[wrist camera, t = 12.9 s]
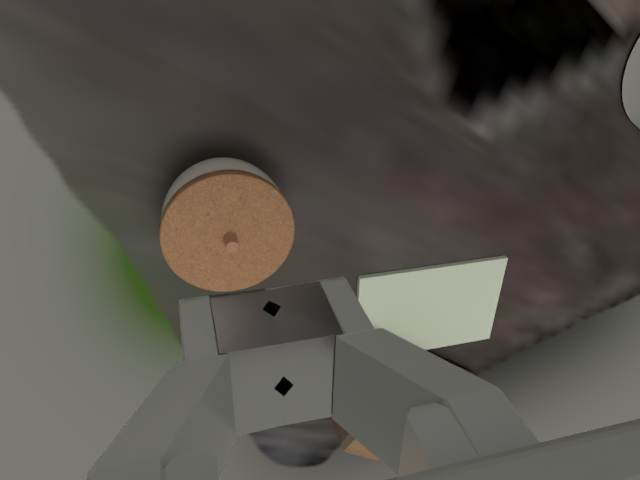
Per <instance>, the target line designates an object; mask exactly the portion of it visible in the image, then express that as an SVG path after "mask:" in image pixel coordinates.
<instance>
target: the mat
mask: <svg viewBox="0 0 640 480" xmlns="http://www.w3.org/2000/svg"><path fill="white" fill-rule="evenodd" d="M507 260H508V258H507V257H506V256H505V255H503V256H496V257H489V258H482V259H475V260H468V261H461V262H453V263H446V264H439V265H432V266H425V267H418V268H411V269H404V270H396V271H389V272H382V273H375V274H368V275H361V276H358V283H357V299H358V301H359V302H360V304H361V306H362V308H363V309H364V311H365V313H366V315H367V316H368V318H369V320H370V322H371V323H372V325H373V327H374V329H379V328H383V329H385V330H387V331H389V332H391V333H393V334H395V335H397V336H399V337H401V338H403V339H405V340H407V341H409V342H410V343H412V344H414V345H416V346H418V347H420V348H422V349H424V350H428V349H434V348H439V347H445V346H450V345H456V344H461V343H467V342H472V341H478V340H484V339H489V338H490V333H491V329H492V325H493V320H494V316H495V312H496V307H497V303H498V299H499V294H500V290H501V286H502V281H503V277H504V273H505V269H506V264H507Z"/></svg>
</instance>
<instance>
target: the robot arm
mask: <svg viewBox="0 0 640 480" xmlns="http://www.w3.org/2000/svg"><path fill="white" fill-rule="evenodd" d="M622 99H623V105H624V108H625V111H626V114H627V115H628V117H629V119H630V120H631V121H632V122H633V123H634V124H635V125H636V126H637V127H638V128H639V129H640V37H639V39H638V40H637V42H636V44H635V46H634V48H633V50H632V52H631V54H630V57H629V59H628V62H627V65H626V69H625V72H624V77H623V84H622ZM209 298H210V299H209ZM179 313H180V326H181V339H182V351H183V361H181V362H176V363H174V364H173V365H172V367H171V368H170V369H169V370H168V372H167V373H166V374H165V375H164V377H163V378H162V379H161V380H160V382H159V383H158V384H157V385H156V387H155V388H154V389H153V391H152V392H151V393H150V394H149V396H148V397H147V398H146V399H145V401H144V402H143V403H142V405H141V406H140V407H139V408H138V409H137V411H136V412H135V413H134V415H133V416H132V417H131V418H130V420H129V421H128V422H127V423H126V425H125V426H124V427H123V429H122V430H121V431H120V432H119V433H118V435H117V436H116V437H115V439H114V440H113V441H112V442H111V444H110V445H109V446H108V447H107V449H106V450H105V451H104V452H103V454H102V455H101V456H100V458H99V459H98V460H97V461H96V463H95V464H94V465H93V467H92V468H91V469H90V470H89V471H88V476H87V480H219V477H220V475H221V472H222V470H223V468H224V466H225V463H226V461H227V459H228V457H229V454H230V452H231V450H232V448H233V445H234V443H235V441H236V436H239V435H244V434H248V433H252V432H257V431H261V430H265V429H270V428H274V427H278V426H282V425H284V424H285V425H288V424H293V423H299V422H305V421H310V420H316V419H322V418H327V417H332V419H333V420H334V421H335V422H336V423H338V424H339V425H340V426H341V427H342V428H343V429H345V430H346V431H347V432H348V433H349V434H350V435H352V436H353V437H354V438H355V439H356V440H357V441H359V442H360V443H361V444H362V445H363V446H364V447H366V448H367V449H368V450H369V451H370V452H371V453H373V454H374V455H375V456H376V457H377V458H378V459H380V460H381V461H382V462H383V463H384V464H386V465H387V466H388V467H389V468H390V469H391V470H393V471H394V472H395V473H396V474H397V475H398V477H395V478H391V479H387V480H640V419H637V420H633V421H629V422H625V423H621V424H616V425H612V426H608V427H604V428H599V429H595V430H591V431H587V432H583V433H579V434H575V435H570V436H566V437H562V438H558V439H554V440H549V441H545V442H541V443H540V442H539V441H538V440H537V438H536V437H535V435H534V434H533V433H532V431H531V430H530V429H529V427H528V426H527V425H526V423H525V422H524V421H523V419H522V418H521V417H520V416H519V414H518V413H517V411H516V410H515V409H514V407H513V406H512V405H511V404H510V402H509V401H508V399H507V398H506V397H505V396H504V394H503V393H502V392H501V390H500V389H499V388H498V387H496V386H494V385H492V384H490V383H488V382H486V381H484V380H482V379H480V378H478V377H477V376H475V375H473V374H471V373H469V372H467V371H465V370H463V369H461V368H459V367H457V366H455V365H453V364H451V363H449V362H447V361H445V360H444V359H442V358H440V357H438V356H436V355H434V354H432V353H430V352H428V351H426V350H424V349H422V348H420V347H418V346H416V345H414V344H412V343H410V342H409V341H407V340H405V339H403V338H401V337H399V336H397V335H395V334H393V333H391V332H389V331H387V330H385V329H383V328H379V329H374V327H373V325H372V323H371V322H370V320H369V318H368V316H367V315H366V313H365V311H364V309H363V308H362V306H361V304H360V302H359V301H358V299H357V297H356V295H355V294H354V292H353V290H352V288H351V287H350V285H349V283H348V281H347V280H346V278H344V277H336V278H330V279H324V280H318V281H316V282H310V283H304V284H297V285H291V286H284V287H277V288H271V289H259V290H251V291H242V292H234V293H226V294H217V295H209V297H208V296H201V297H194V298H187V299H180V301H179Z"/></svg>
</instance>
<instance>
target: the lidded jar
mask: <svg viewBox="0 0 640 480" xmlns="http://www.w3.org/2000/svg"><path fill="white" fill-rule="evenodd" d="M294 235H295V222H294V217H293V213H292V211H291V208H290V206H289V203H288V202H287V200H286V199H285V197H284V195H283V194H282V193H281V192H280V190H279V189H278V187H277V185H276V184H275V183H274V182H273V181H272V180H271V178H270V177H269V176H268V175H267V174H266V173H264V172H263V171H262V170H260V169H259V168H258V167H256V166H254V165H252V164H251V163H249V162H246V161H243V160H240V159H235V158H227V157H220V158H211V159H207V160H204V161H201V162H199V163H196V164H194V165H192V166H191V167H189V168H187V169H186V170H185V171H184V172H183V173H181V174H180V175H179V176H178V177H177V179H176V180H175V181H174V182H173V184H172V186H171V187H170V189H169V191H168V192H167V195H166V197H165V200H164V203H163V207H162V212H161V221H160V226H159V241H160V247H161V251H162V254H163V256H164V259H165V260H166V262H167V264H168V265H169V267H170V268H171V269H172V270H173V272H174V273H175V274H176V275H178V276H179V277H180V278H181V279H183V280H184V281H186V282H188V283H189V284H191V285H193V286H196V287H198V288H201V289H205V290H210V291H218V292H225V291H236V290H241V289H245V288H248V287H251V286H253V285H255V284H258V283H260V282H261V281H263V280H265V279H266V278H268V277H269V276H270V275H272V274H273V273H274V272H275V271H276V270H277V269H278V268H279V267H280V266H281V265H282V263H283V262H284V261H285V259H286V258H287V256H288V254H289V252H290V250H291V247H292V244H293V241H294Z"/></svg>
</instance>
